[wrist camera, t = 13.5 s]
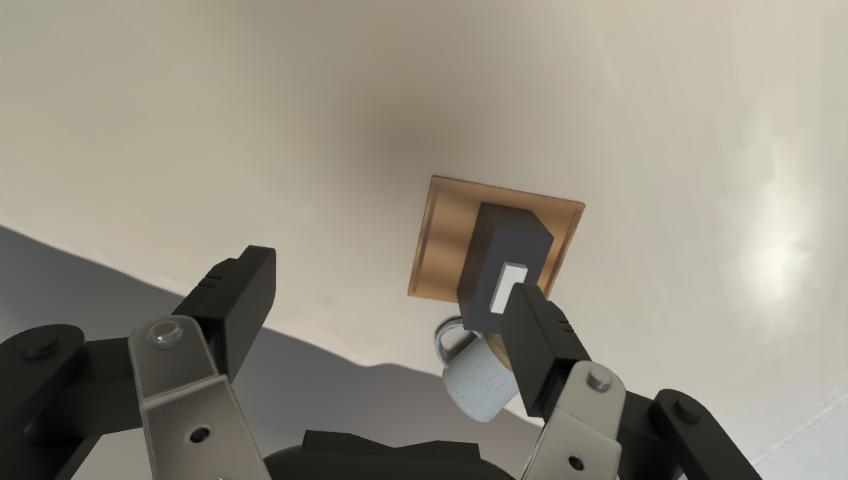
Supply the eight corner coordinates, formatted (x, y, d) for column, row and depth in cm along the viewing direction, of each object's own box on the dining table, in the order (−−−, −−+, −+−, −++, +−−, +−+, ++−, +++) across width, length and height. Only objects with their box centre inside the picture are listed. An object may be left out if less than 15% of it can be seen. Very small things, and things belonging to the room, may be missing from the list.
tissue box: (481, 201, 37) (497, 231, 31) (532, 210, 38) (558, 241, 31) (456, 292, 42) (465, 335, 35) (501, 299, 42) (518, 342, 36)
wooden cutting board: (432, 175, 36) (432, 176, 36) (583, 202, 38) (586, 205, 38) (407, 292, 42) (407, 296, 42) (539, 312, 44) (541, 315, 44)
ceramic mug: (527, 342, 46) (547, 390, 39) (484, 382, 49) (496, 434, 42) (460, 300, 43) (470, 345, 36) (419, 345, 46) (420, 395, 39)
